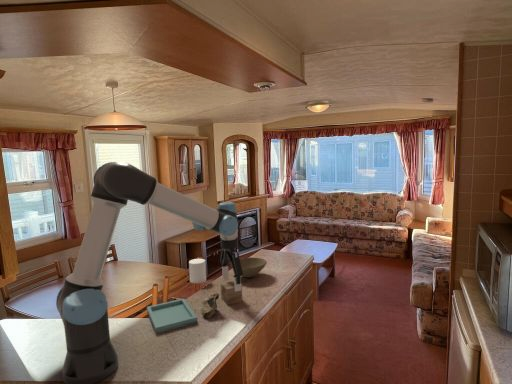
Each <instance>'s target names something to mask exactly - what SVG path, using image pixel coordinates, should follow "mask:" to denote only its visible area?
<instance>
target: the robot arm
mask: <svg viewBox="0 0 512 384" xmlns="http://www.w3.org/2000/svg"><path fill="white" fill-rule="evenodd" d="M90 198H91V200H92V201H93V205H92V207H91V212H90V215H89V218H88V221H87V225H86V228H85V231H84V234H83V239H82V242H81V243H80V248H79V251H78V254H77V257H76V260H75V264H74V267H73V271H72V273H70V274H69V275H67V276H65V280H64V283H63V285H62V287H61V288H60V289H59V291H58V293H57V294H56V295H57V296H56V302H55V304H56V309H57V311H58V313H59V315H60V318H61V321H62V324H63V328H64V333H65V334H64V335H65V345H66V354H65V358H64V362H63V365H62V369H61V370H62V371H61V374H62V375H61V376H62V381H63V383H64V384H96V383H99V382H101V381H103V380H105V379H107V378H108V377H109V376H111V375H112V374H113V373H114V372H115V371H116V370H117V368H118V365H119V358H118V357H119V356H118V353H117V351H116V349H115V347H114V345H113V343H112V341H111V336H110V326H109V325H110V324H109V313H108V307H109V305H108V304H109V303H108V299H107V296H106V294H105V292H104V291H102V289H103V286H104V281H103V279H102V277H101V276H102V273H103V269H104V267H105V263H106V259H107V256H108V253H109V250H110V247H111V246H110V245H111V242H112V240H113V239H112V238H113V236H114V232H115V229H116V225H117V222H118V219H119V215H120V212H121V210H122V208H124V207H127V204H128V201H129V202H130V201H131V202H134V203H137V204H140V205H142V206H145V205H150V206H152V207H154V208H155V207H156V208H158V209H160V210H163V211H165V212H167V213H169V214H172V215H175V216H177V217H179V218H182V219H184V220H186V221H188V222H192V227H193V228H194V229H195V230H196V231H199V232H200V231H205V230H206V231H207V230H208V231H211V232H214V233H216V234H219V237H220V249H221V251H220V258H219V264H220V265H221V272H222V281H223V282H225V281H230V276H229V275H230V274H229V263H230V265H232V266H231V267H232V270H233V274H234V275H233V281H234V286H235V292H236V291H241V286H242V279H241V277H243V272H242V267H241V263H240V259H241V258H240V253H239V251H237V252H236V248H237V247H239V238H238V232H239V229H238V228H239V222H238V212H237V204H236V203H235V202H234V201H233V202H232V201H226V202H225V201H224V202H220V203H219V204H218V207H217V208H213V207H211V206H209V205H206V204H204V203H202V202H200V201H198V200H196V199H194V198H192V197H189V196H188V195H185V194H183V193H181V192H180V191H177V190H175V189H173V188H171V187H168V186H166V185H164V184H162V183H160V182H158V179H157V178H156V177H155V176H152V175H150V174H148V173H146V172H145V171H143V170H141V169H140V168H138V167H136V166H135V165H132V164H131V163H128V162H117V161H113V162H112V161H111V162H107V163H103V164H102V165H101V166H98V168H97V169H96V170H95V173H94V174H93V187H92V191H91V194H90Z"/></svg>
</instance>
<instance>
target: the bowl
mask: <svg viewBox="0 0 512 384" xmlns="http://www.w3.org/2000/svg"><path fill="white" fill-rule="evenodd" d="M239 259H240V263H241V267H242V272H243V276H242V277H244V278H253V277H255V276H257V275H258V274H259V273H261V271H262V270H264V268H265V267H266V266H267V262H268V261H267V260H266V259H264V258H262V257H242V258H241V257H240V258H239ZM230 265H231V264H230ZM231 267H232V265H231Z"/></svg>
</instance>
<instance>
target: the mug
mask: <svg viewBox="0 0 512 384" xmlns="http://www.w3.org/2000/svg"><path fill="white" fill-rule="evenodd" d="M188 268H189V270H188V271H189V282H190V283H191V284H202V283H204V282H206V281H207V267H206V259H205V258H204V259H203V258H194V259H191V260H189V261H188Z"/></svg>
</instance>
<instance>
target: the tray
mask: <svg viewBox="0 0 512 384" xmlns="http://www.w3.org/2000/svg"><path fill="white" fill-rule="evenodd" d="M146 311H147V312H146V313H147V315H148V318H149V320H150V322H151V325H152V327H153V330H154V332H155V334H156V333H157V334H160V333H164V332H168V331H171V330H170V329H172V330H174V328H175V329H179V328H182V326H183V327H186V325H187V326H189V325H193V324H198V317H197V315H196V313H195V312H194V311H193V309H192V308H191V307H190V305H189V304H188V302H187V301H186V300H185V298H180V299H176V300H169V301H166V302H163V303H158V304H154V305H149V306H146ZM178 327H179V328H178ZM167 330H168V331H167Z"/></svg>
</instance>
